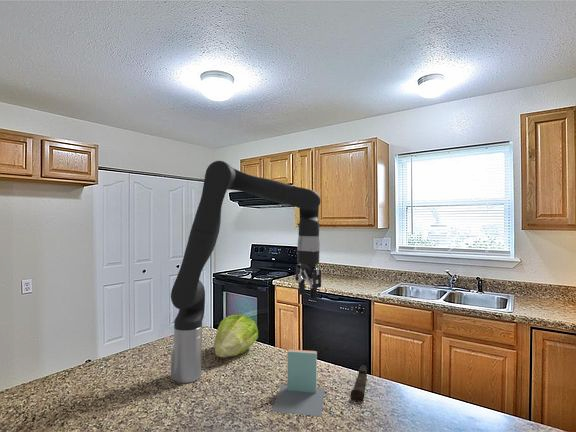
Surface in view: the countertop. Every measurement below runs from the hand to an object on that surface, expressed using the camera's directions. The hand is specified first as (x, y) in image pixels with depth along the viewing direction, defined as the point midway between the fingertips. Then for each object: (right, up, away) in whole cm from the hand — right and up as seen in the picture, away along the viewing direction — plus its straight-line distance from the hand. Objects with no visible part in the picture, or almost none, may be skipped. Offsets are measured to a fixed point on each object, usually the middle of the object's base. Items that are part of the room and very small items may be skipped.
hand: (307, 297), depth 114 cm
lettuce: (-29, -29, +23) cm, 47 cm away
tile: (-2, -27, -8) cm, 29 cm away
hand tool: (+17, -29, -5) cm, 33 cm away
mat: (-3, -28, -14) cm, 31 cm away
